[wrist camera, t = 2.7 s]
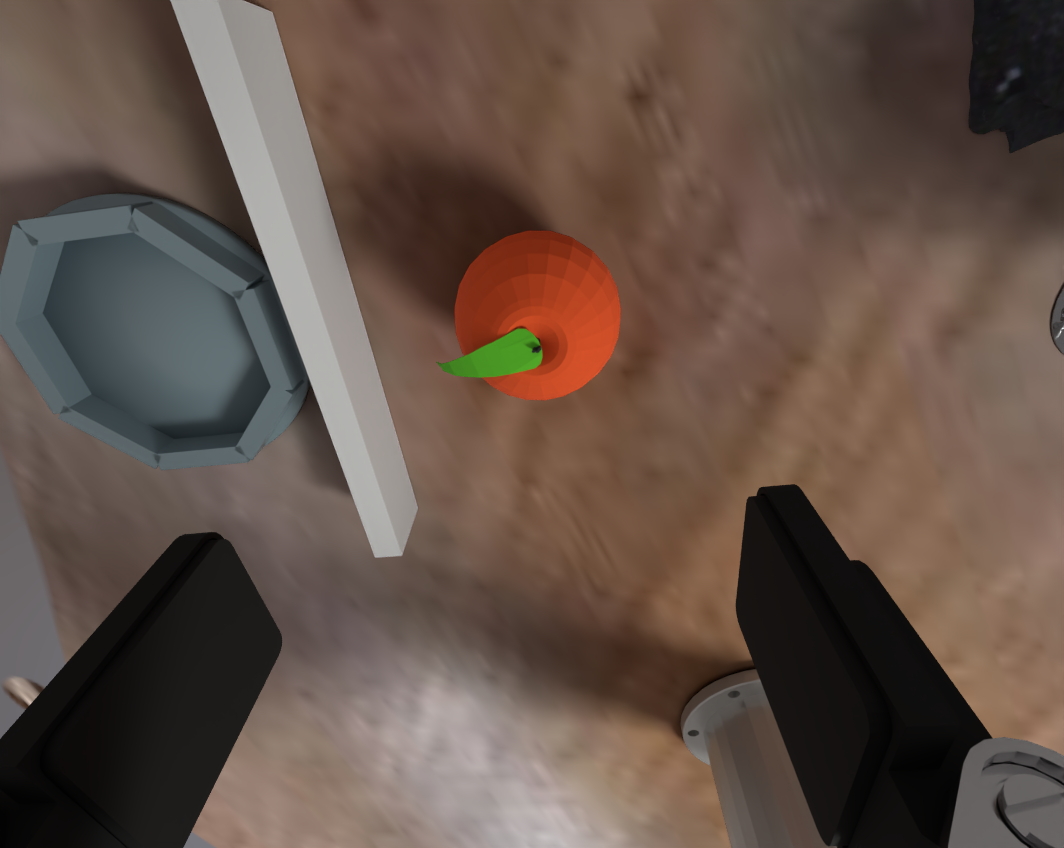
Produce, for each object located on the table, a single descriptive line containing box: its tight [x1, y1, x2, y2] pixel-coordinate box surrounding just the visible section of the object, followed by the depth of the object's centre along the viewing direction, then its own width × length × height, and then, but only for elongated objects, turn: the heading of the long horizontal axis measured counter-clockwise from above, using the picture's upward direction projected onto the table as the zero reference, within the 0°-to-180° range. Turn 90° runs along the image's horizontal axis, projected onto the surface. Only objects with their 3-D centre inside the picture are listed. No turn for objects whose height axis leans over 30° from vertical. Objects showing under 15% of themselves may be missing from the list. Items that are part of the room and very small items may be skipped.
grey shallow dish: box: [0, 193, 311, 470], centre depth 26 cm, size 14×14×2 cm
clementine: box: [437, 230, 621, 400], centre depth 22 cm, size 8×7×7 cm
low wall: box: [170, 0, 418, 558], centre depth 24 cm, size 2×24×4 cm, turn 7°
